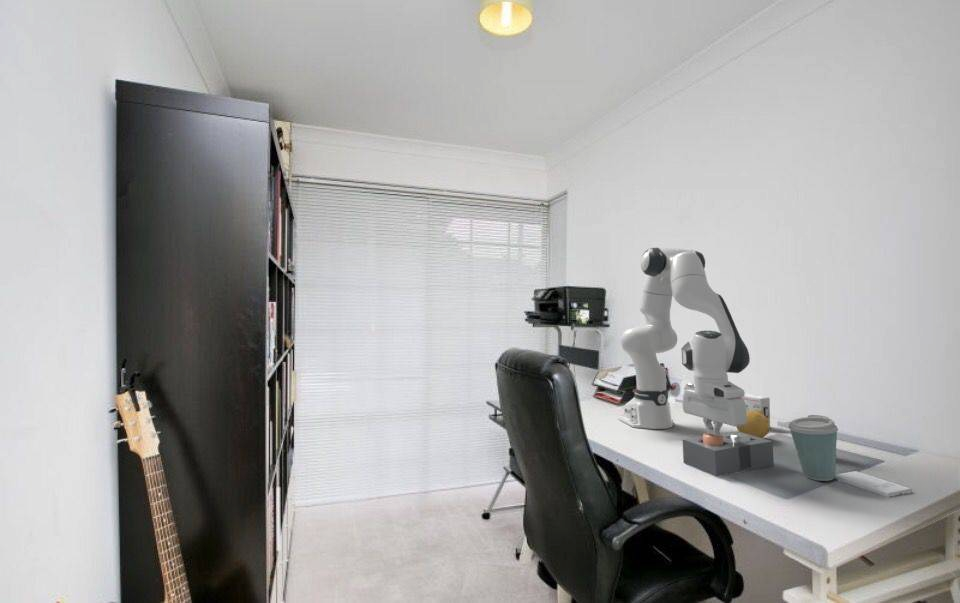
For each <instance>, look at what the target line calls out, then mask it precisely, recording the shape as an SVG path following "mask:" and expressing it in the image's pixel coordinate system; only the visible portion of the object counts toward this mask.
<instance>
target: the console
mask: <svg viewBox="0 0 960 603" xmlns="http://www.w3.org/2000/svg"><path fill="white" fill-rule="evenodd" d="M730 433H742V432H739V431H738V430H735V431H729V432H723V433H721V432H720V434H721V435H723V445H720V446H714V447H713V446H710V445H707V444H704V443H703V435H702V436H695V437H689V438H682V457H683V458H682V460H683V464H685V465H688V466H690V467H692V468H694V469H697V470H699V471H702V472H704V473H707V474H709V475H711V476H713V477H720V476H726V475H731V474H733V475H734V474H737V473H743V472H746V471H753V470H759V469H764V468H770V467H774V466H775V464H774V460H775V459H774V448H773V447H774V442H773V441H772V440H770V439H766V438H764V437H763V438H759V437H756V436H752V435H750V441H745V442H739V441H735V440H732V439H730ZM744 434H745V433H744ZM748 435H749V434H748Z"/></svg>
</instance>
